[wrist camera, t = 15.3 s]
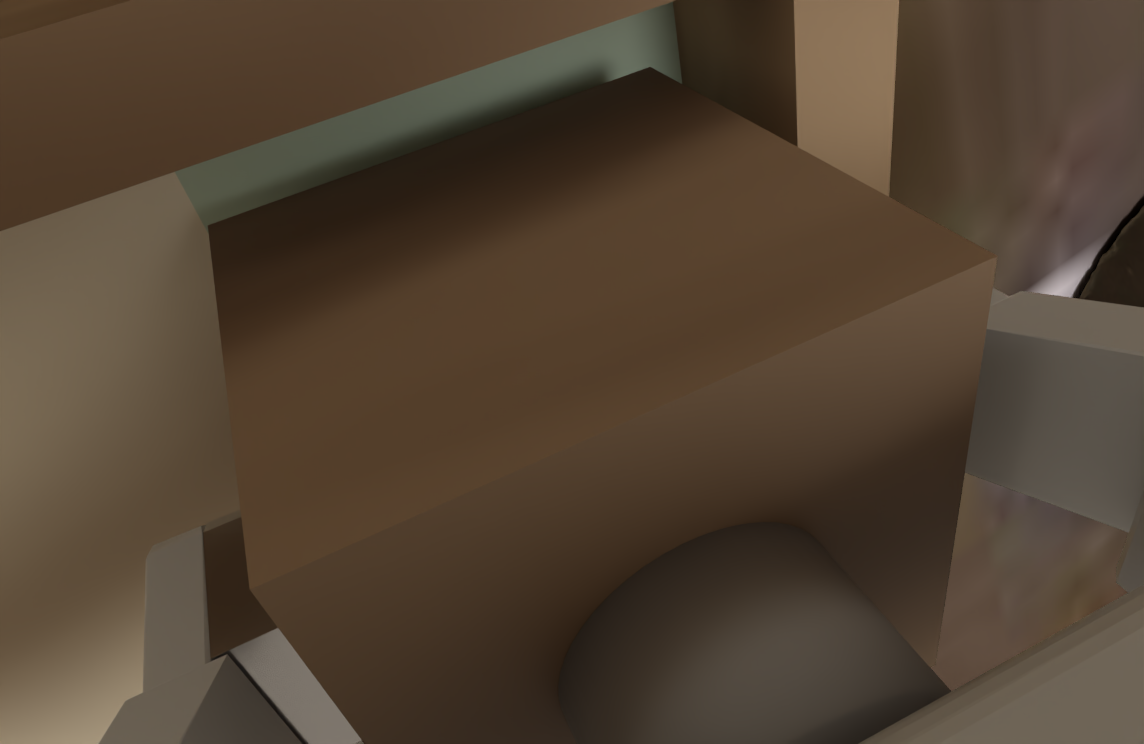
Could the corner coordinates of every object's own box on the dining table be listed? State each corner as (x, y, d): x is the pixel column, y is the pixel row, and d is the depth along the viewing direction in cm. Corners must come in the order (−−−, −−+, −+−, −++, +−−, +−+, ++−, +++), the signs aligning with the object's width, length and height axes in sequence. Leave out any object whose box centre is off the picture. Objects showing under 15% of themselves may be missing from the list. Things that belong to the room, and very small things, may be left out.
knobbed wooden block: (207, 225, 8) (281, 859, 3) (650, 66, 9) (1223, 377, 4) (378, 539, 11) (547, 1107, 6) (695, 397, 12) (1054, 798, 7)
